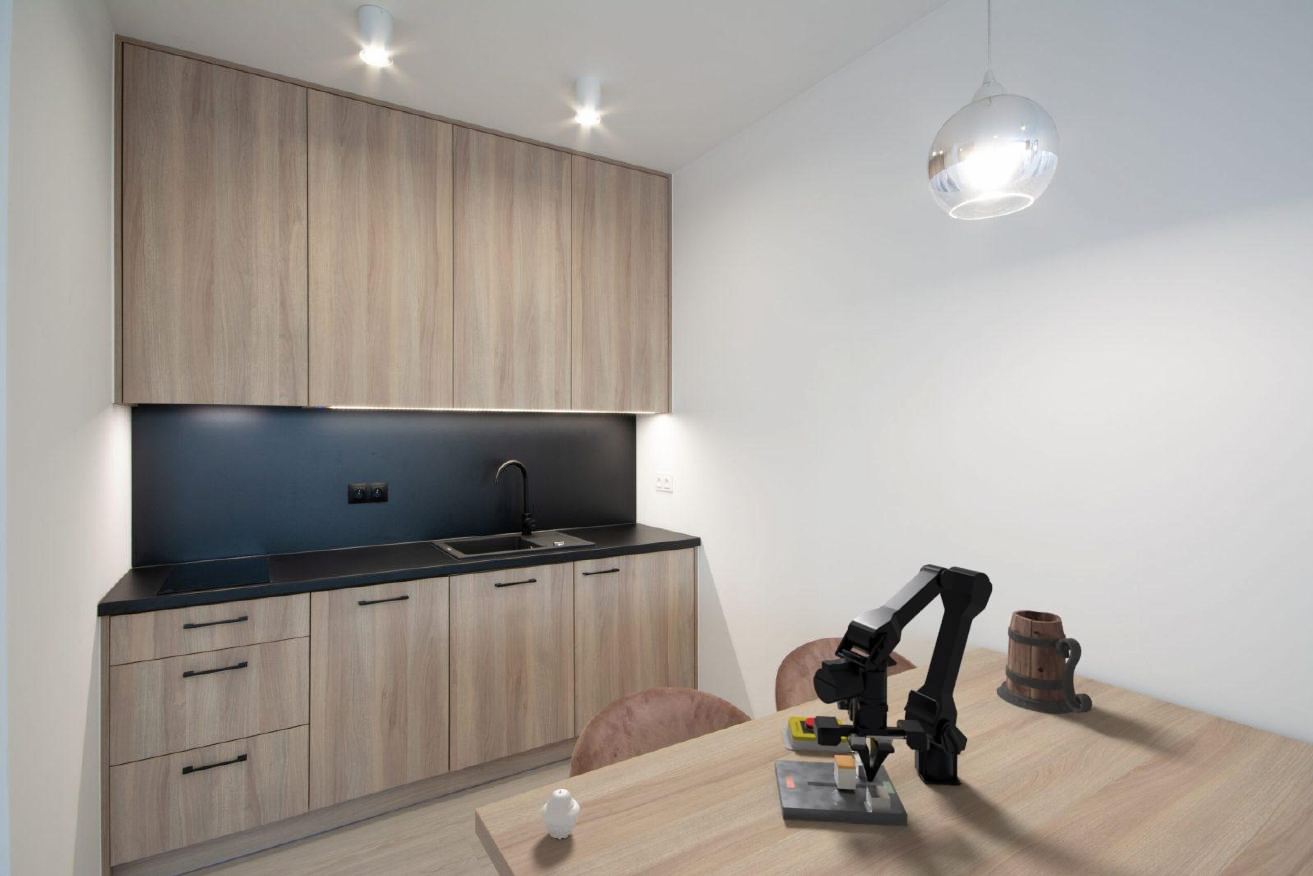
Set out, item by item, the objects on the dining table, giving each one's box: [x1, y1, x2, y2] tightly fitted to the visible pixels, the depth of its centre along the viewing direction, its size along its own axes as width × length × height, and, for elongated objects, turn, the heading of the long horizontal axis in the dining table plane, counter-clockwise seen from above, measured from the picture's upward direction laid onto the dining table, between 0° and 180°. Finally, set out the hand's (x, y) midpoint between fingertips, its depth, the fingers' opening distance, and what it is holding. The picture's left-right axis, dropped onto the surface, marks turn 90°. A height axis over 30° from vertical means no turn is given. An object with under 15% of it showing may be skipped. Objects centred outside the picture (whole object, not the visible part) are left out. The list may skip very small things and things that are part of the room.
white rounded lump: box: [540, 788, 581, 840], centre depth 102 cm, size 6×6×7 cm
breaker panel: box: [774, 754, 908, 827], centre depth 112 cm, size 20×15×4 cm
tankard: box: [995, 609, 1093, 715], centre depth 148 cm, size 24×17×20 cm
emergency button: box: [780, 716, 858, 754], centre depth 132 cm, size 9×4×15 cm
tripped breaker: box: [833, 754, 856, 789], centre depth 111 cm, size 3×4×4 cm
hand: (869, 780), depth 111 cm, fingers closed
